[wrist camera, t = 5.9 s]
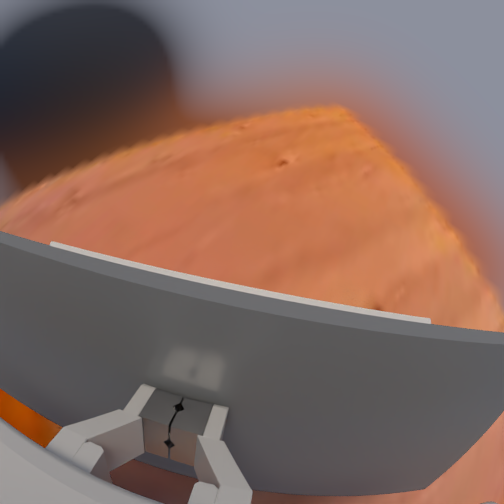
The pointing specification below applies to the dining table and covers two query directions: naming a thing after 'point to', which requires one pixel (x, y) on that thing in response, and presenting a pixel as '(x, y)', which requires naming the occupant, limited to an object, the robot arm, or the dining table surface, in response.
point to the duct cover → (249, 371)
